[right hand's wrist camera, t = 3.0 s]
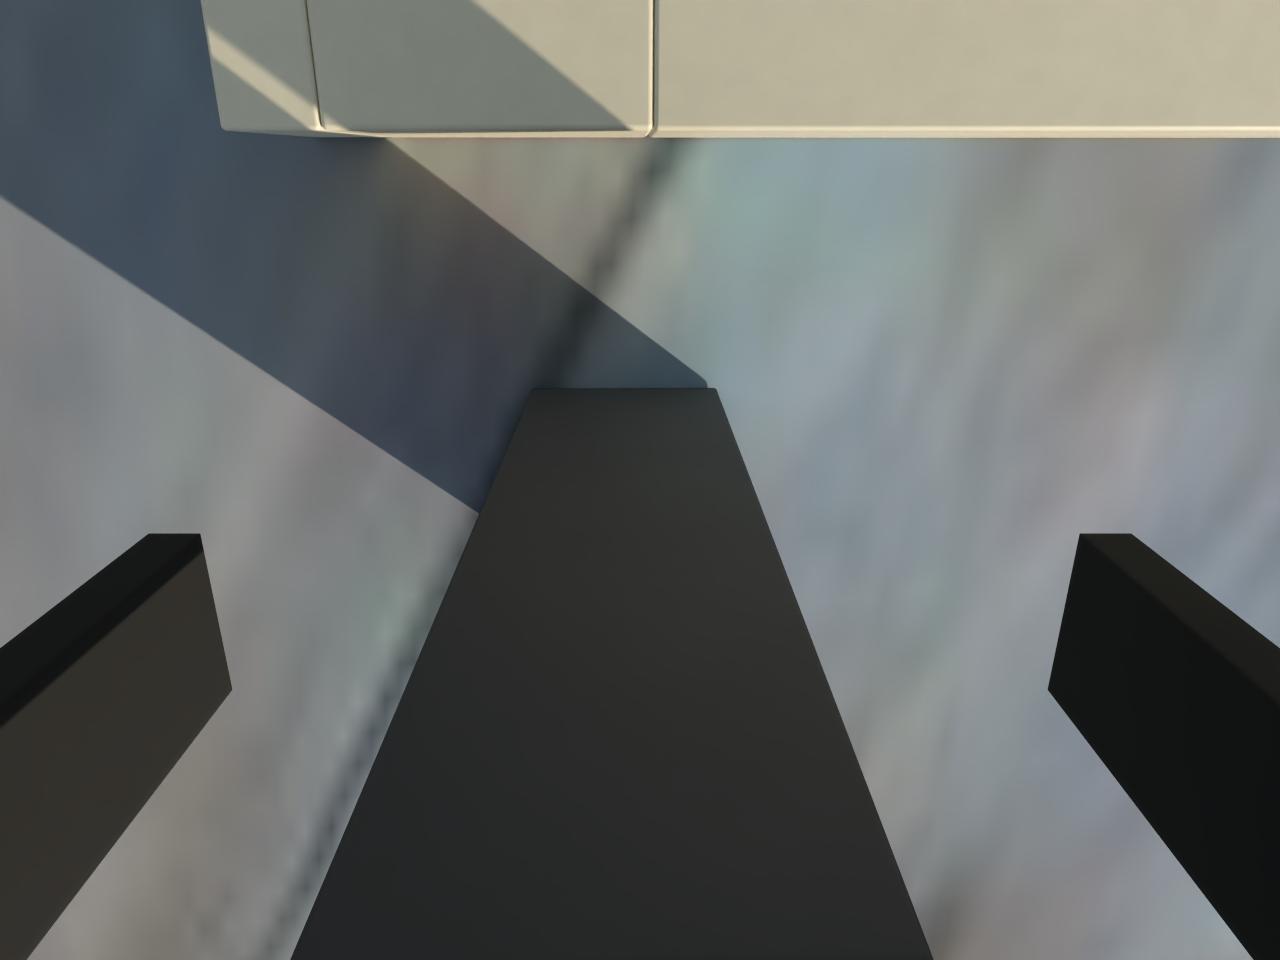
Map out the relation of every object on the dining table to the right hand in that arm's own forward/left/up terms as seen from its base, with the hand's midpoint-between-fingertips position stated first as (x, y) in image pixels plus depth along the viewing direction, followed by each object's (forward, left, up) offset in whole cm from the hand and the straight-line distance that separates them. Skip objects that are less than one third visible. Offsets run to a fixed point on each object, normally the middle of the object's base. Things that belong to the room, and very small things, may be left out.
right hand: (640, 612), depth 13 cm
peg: (0, 0, -6) cm, 6 cm away
